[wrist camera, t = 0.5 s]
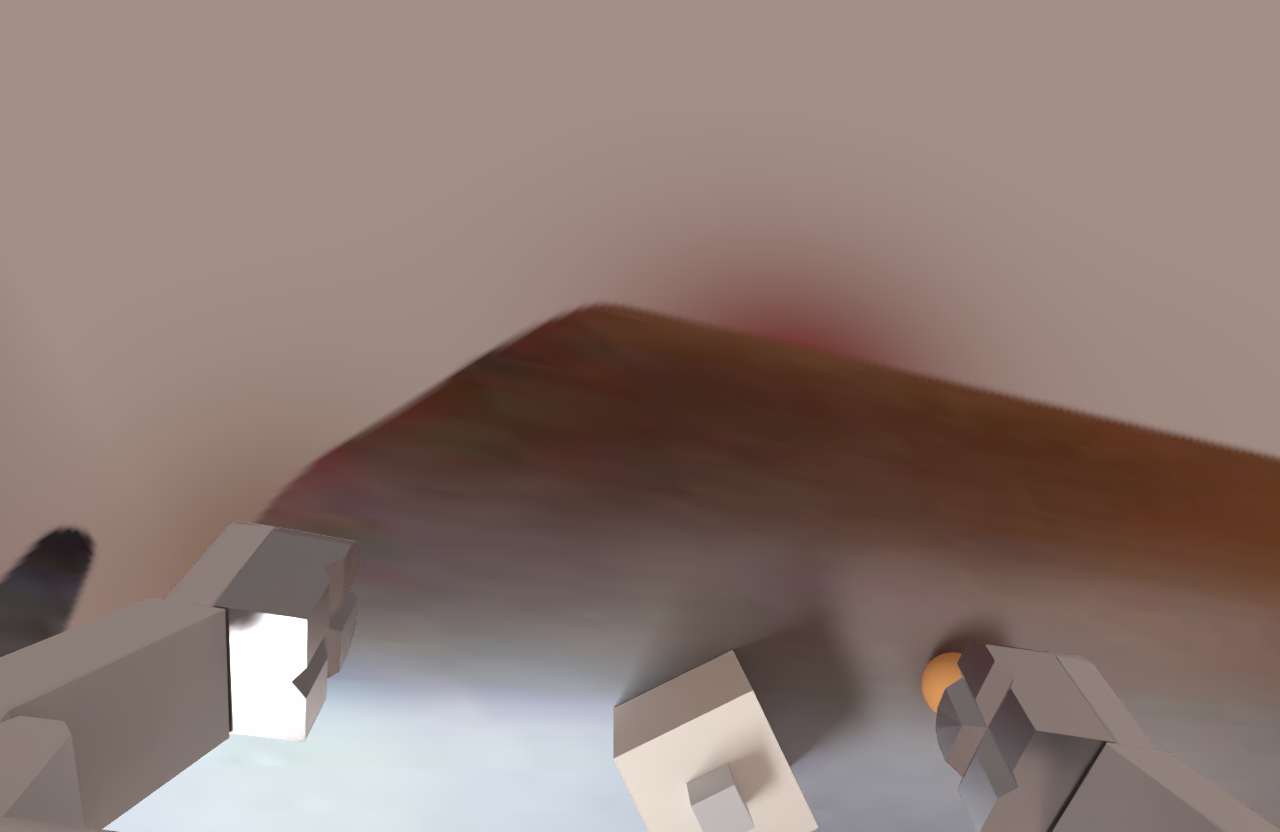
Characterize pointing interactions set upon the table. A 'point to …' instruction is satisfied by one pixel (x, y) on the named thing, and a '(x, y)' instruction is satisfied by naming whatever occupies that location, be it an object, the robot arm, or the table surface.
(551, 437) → the table surface
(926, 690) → the ball
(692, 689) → the white box
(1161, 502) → the table surface
